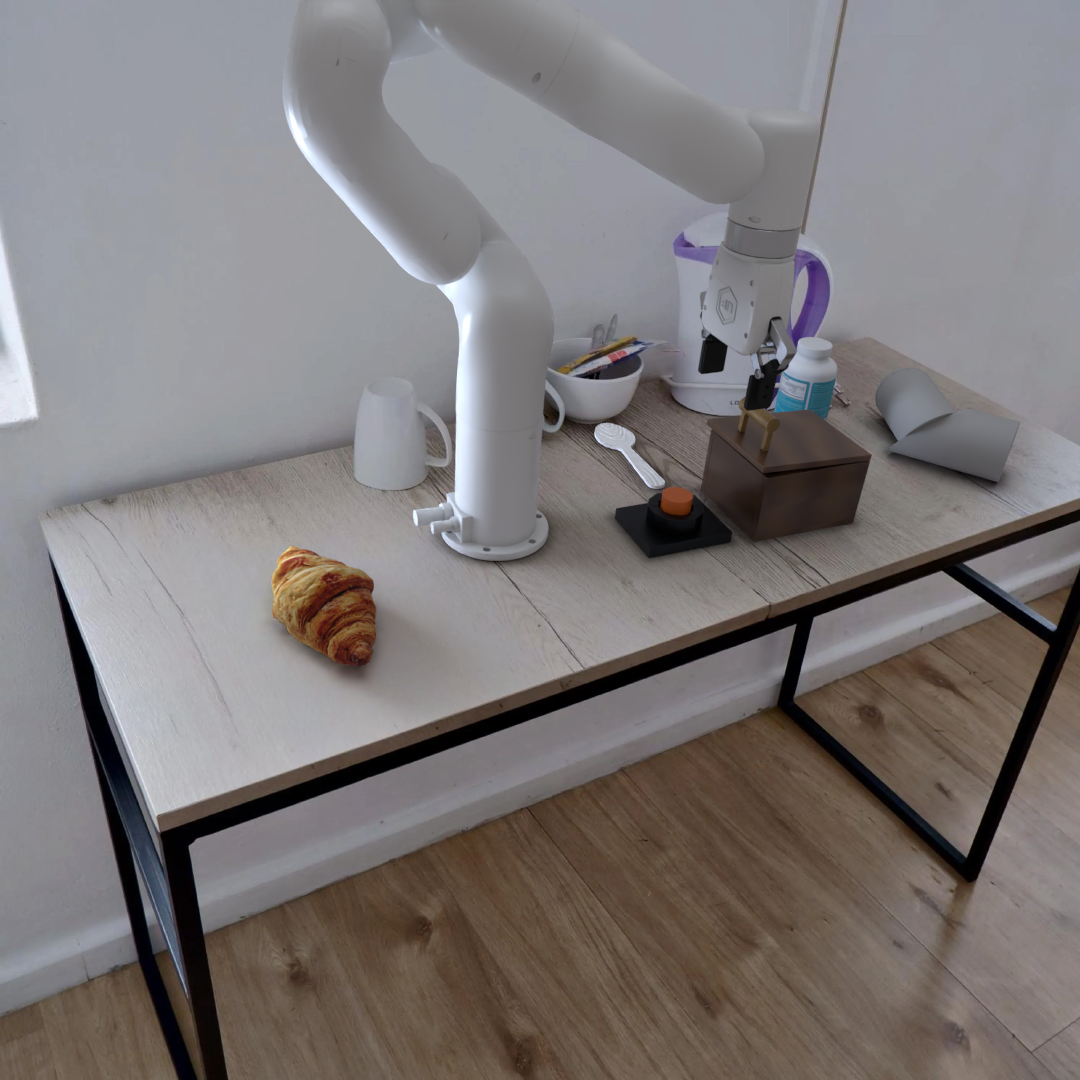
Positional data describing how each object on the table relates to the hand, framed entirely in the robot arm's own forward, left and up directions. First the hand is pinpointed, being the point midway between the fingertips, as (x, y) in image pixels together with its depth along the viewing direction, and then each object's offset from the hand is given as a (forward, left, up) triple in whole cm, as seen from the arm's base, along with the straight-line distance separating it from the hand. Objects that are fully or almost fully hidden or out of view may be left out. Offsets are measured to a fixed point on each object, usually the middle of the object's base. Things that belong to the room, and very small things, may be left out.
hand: (732, 389), depth 114 cm
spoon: (-2, +17, -18) cm, 25 cm away
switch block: (-5, -1, -18) cm, 18 cm away
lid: (+10, 0, -8) cm, 13 cm away
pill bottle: (+25, +17, -18) cm, 35 cm away
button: (-5, -1, -14) cm, 15 cm away
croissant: (-48, -5, -18) cm, 51 cm away
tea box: (+10, 0, -18) cm, 20 cm away
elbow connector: (+41, +7, -18) cm, 45 cm away
